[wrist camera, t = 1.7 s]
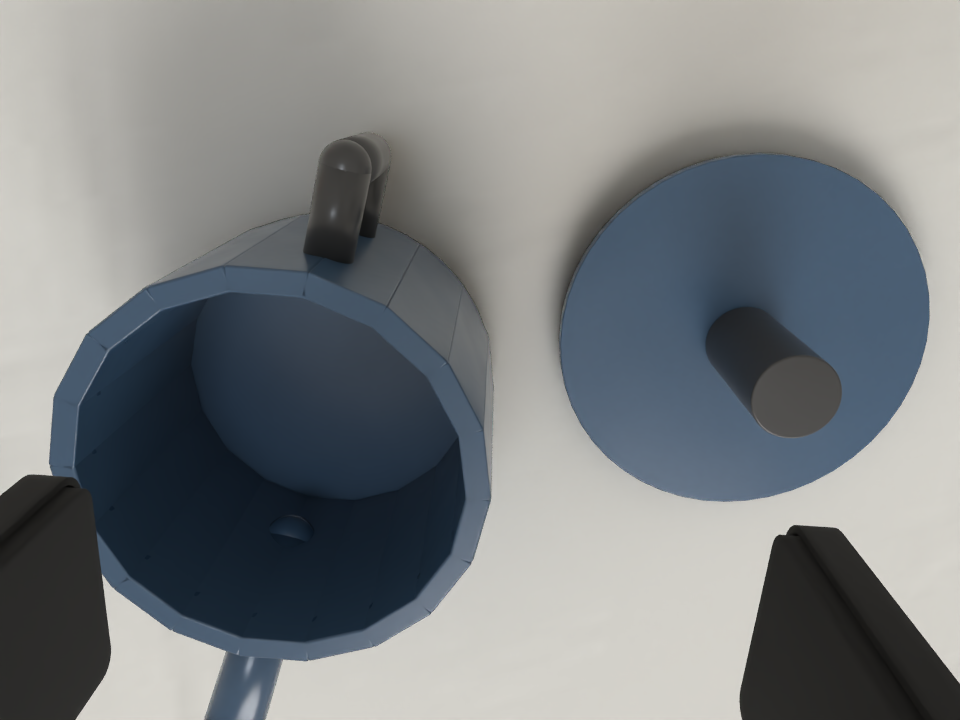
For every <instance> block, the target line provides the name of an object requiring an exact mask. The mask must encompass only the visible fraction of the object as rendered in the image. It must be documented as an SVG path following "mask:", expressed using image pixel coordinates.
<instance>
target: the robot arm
mask: <svg viewBox="0 0 960 720" xmlns="http://www.w3.org/2000/svg"><path fill="white" fill-rule="evenodd" d="M110 656H111V645H110V637H109V629H108V621H107V613H106V605H105V597H104V589H103V581H102V573H101V565H100V557H99V549H98V541H97V533H96V525H95V517H94V508H93V500H92V496H91V494H90V492H89V491H88V490H87V489H82V488H81V487H80V484H79V483H78V481H77V480H76V479H75V478H73V477H62V476H47V475H27V476H25V477H23V478H22V479H20V480H19V481H18V482H17V483H15V484H14V485H13V486H12V487H10V488H9V489H8V490H7V491H6V492H4V493H3V494H2V495H1V496H0V720H75V719H76V718H77V716H78V715H79V713H80V712H81V711H82V709H83V708H84V706H85V705H86V703H87V702H88V700H89V699H90V697H91V696H92V694H93V693H94V691H95V690H96V688H97V687H98V685H99V684H100V682H101V681H102V679H103V678H104V676H105V674H106V672H107V669H108V666H109V662H110ZM740 711H741V717H742V720H960V684H959V682H958V681H957V680H956V678H955V677H954V676H953V675H952V673H951V672H950V671H949V669H948V668H947V667H946V666H945V664H944V663H943V662H942V660H941V659H940V658H939V657H938V655H937V654H936V653H935V651H934V650H933V649H932V648H931V646H930V645H929V644H928V642H927V641H926V640H925V639H924V637H923V636H922V635H921V633H920V632H919V631H918V630H917V628H916V627H915V626H914V624H913V623H912V622H911V620H910V619H909V618H908V617H907V615H906V614H905V613H904V611H903V610H902V609H901V608H900V606H899V605H898V604H897V602H896V601H895V600H894V599H893V597H892V596H891V595H890V593H889V592H888V591H887V590H886V588H885V587H884V586H883V584H882V583H881V582H880V581H879V579H878V578H877V577H876V575H875V574H874V573H873V572H872V570H871V569H870V568H869V566H868V565H867V564H866V563H865V561H864V560H863V559H862V557H861V556H860V555H859V554H858V552H857V551H856V550H855V548H854V547H853V546H852V545H851V543H850V542H849V541H848V539H847V538H846V537H845V536H844V534H843V533H842V532H841V531H840V530H839V529H837V528H830V527H815V526H800V525H793V526H792V527H790V529H789V530H788V532H787V534H786V535H778V536H776V538H775V540H774V542H773V545H772V549H771V554H770V559H769V563H768V568H767V572H766V577H765V581H764V586H763V590H762V595H761V599H760V604H759V608H758V613H757V617H756V622H755V626H754V631H753V635H752V640H751V645H750V649H749V654H748V658H747V663H746V667H745V672H744V676H743V681H742V685H741V690H740Z"/></svg>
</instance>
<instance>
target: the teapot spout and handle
mask: <svg viewBox="0 0 960 720" xmlns="http://www.w3.org/2000/svg"><path fill="white" fill-rule="evenodd" d="M390 163H391V150H390V147H389V145H388V143H387V142H386V140H385V139H384V138H383V137H381V136H380V135H378V134H376V133H372V132H364V133H360V134H357V135H353V136H350V137H347V138H344V139H340V140H337V141H334V142H332V143H330V144H329V145H328V146H327V147H326V148H325V149H324V150H323V152H322V153H321V155H320V159H319V164H318V169H317V175H316V180H315V186H314V192H313V197H312V203H311V209H310V214H309V220H308V225H307V231H306V237H305V242H304V248H303V252H304V253H306V254H308V255H312V256H318V257H322V258H323V259H324V258H327V259H330V260H333V261H336V262H340V263H345V264H351V263H353V262H354V258H355V253H356V248H357V243H358V238H359V235H360V236H363V237H367V238H375V235H376V230H377V225H378V221H379V216H380V211H381V206H382V202H383V197H384V192H385V187H386V182H387V178H388V173H389V168H390ZM269 530H270V534H271V536H272V537H273V539H274V540H275V541H276V542H277V543H278V544H279V545H280V546H282V547H284V548H289V547H294V546H297V545H300V544H303V543H305V542H307V541H308V540H309V539H311V538H312V536H313V535H314V528H313V526H312V525H311V523H310V522H309V521H307V520H306V519H305V518H303V517H301V516H298V515H284V516H281V517H279V518H277V519H275V520H274V521H273V522H272V523H271V524H270V527H269ZM282 661H283V659H272V658H259V657H246V656H239V654H238V655H236V654H233V653H230V652H228V651H226V653H225V656H224V659H223V663H222V666H221V669H220V672H219V675H218V678H217V681H216V684H215V687H214V690H213V694H212V697H211V700H210V703H209V706H208V709H207V712H206V715H205V719H204V720H266V716H267V713H268V709H269V706H270V702H271V699H272V695H273V692H274V689H275V685H276V682H277V678H278V675H279V671H280V668H281V664H282Z"/></svg>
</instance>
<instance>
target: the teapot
mask: <svg viewBox="0 0 960 720" xmlns="http://www.w3.org/2000/svg"><path fill="white" fill-rule="evenodd" d="M308 220H309V214H305V215H299V216H296V217H291V218H287V219H282V220H278V221H276V222H273V223H270V224H267V225H264V226H261V227H257V228H254V229H250V230H249V231H246V232H245V233H243V234H241V235H239V236H237V237H236V238H234V239H232V240H230V241H228V242H226V243H225V244H223V245H221V246H219V247H217V248H216V249H214V250H212V251H210V252H208V253H207V254H205V255H203V256H201V257H199V258H198V259H196V260H194V261H192V262H190V263H188V264H187V265H185V266H183V267H181V268H179V269H178V270H176V271H174V272H172V273H170V274H169V275H167V276H165V277H163V278H161V279H159V280H158V281H156V282H154V283H152V284H150V285H149V286H147V287H145V288H143V289H142V290H141V291H140V292H138V293H137V294H136V295H135V296H133V297H132V298H131V299H129V300H128V301H127V302H126V303H124V304H123V305H122V306H121V307H119V308H118V309H117V310H115V311H114V312H113V313H112V314H110V315H109V316H108V317H107V318H105V319H104V320H103V321H101V322H100V323H99V324H98V325H96V326H95V327H94V328H93V329H91V330H90V331H89V333H87V334H86V336H85V337H84V339H83V341H82V343H81V345H80V347H79V349H78V351H77V353H76V354H75V356H74V358H73V360H72V362H71V364H70V366H69V368H68V370H67V372H66V373H65V375H64V377H63V379H62V381H61V383H60V385H59V387H58V389H57V390H56V392H55V395H54V399H53V414H52V428H51V443H50V457H49V464H50V468H51V471H52V475H53V476H62V477H73V478H75V479H76V480H77V481H78V483H79V484H80V487H81V488H82V489H87V490H88V491H89V492H90V494H91V496H92V500H93V508H94V517H95V525H96V533H97V541H98V549H99V557H100V565H101V573H102V574H103V576H104V577H105V578H106V580H107V581H108V582H109V584H110V585H111V586H112V587H113V588H114V589H115V590H116V591H117V592H119V593H120V594H122V595H123V596H124V597H126V598H127V599H128V600H130V601H131V602H132V603H134V604H135V605H137V606H138V607H139V608H141V609H142V610H143V611H145V612H146V613H148V614H149V615H150V616H152V617H153V618H154V619H156V620H157V621H158V622H160V623H161V624H163V625H164V626H165V627H167V628H168V629H169V630H172V629H173V631H174V632H176V633H179V634H182V635H184V636H187V637H190V638H193V639H195V640H198V641H201V642H203V643H206V644H209V645H211V646H214V647H217V648H220V649H222V650H225V651H228V652H230V653H233V654H236V655H238V654H239V656H246V657H259V658H272V659H285V660H297V661H308V660H315V659H320V658H324V657H329V656H334V655H338V654H343V653H348V652H352V651H357V650H362V649H366V648H371V647H373V646H378V645H379V644H381V643H383V642H384V641H386V640H388V639H389V638H391V637H393V636H394V635H396V634H398V633H400V632H401V631H403V630H405V629H406V628H408V627H410V626H411V625H413V624H415V623H416V622H418V621H420V620H422V619H423V618H425V617H427V616H428V615H430V614H431V612H433V611H434V610H435V608H436V607H437V606H438V605H439V603H440V602H441V601H442V600H443V598H444V597H445V596H446V595H447V593H448V592H449V591H450V590H451V588H452V587H453V586H454V585H455V583H456V582H457V581H458V580H459V578H460V577H461V576H462V575H463V574H464V572H465V571H466V570H467V569H468V567H469V566H470V565H471V562H472V561H473V559H474V556H475V552H476V549H477V546H478V542H479V539H480V535H481V532H482V529H483V525H484V522H485V519H486V515H487V512H488V508H489V505H490V502H491V483H492V437H493V392H494V386H493V376H492V366H491V353H490V346H489V336H488V333H487V331H486V329H485V327H484V325H483V322H482V319H481V317H480V314H479V312H478V310H477V308H476V306H475V304H474V302H473V300H472V298H471V297H470V295H469V293H468V292H467V290H466V289H465V287H464V286H463V284H462V283H461V282H460V281H459V279H458V278H457V277H456V275H455V274H454V273H453V272H452V271H451V270H450V269H449V268H448V267H447V266H446V265H445V264H444V262H443V261H441V260H440V259H439V258H438V257H437V256H435V255H434V254H433V253H432V252H431V251H429V250H428V249H427V248H426V247H424V246H423V245H421V244H420V243H418V242H417V241H415V240H413V239H412V238H410V237H409V236H407V235H405V234H403V233H401V232H399V231H397V230H394V229H392V228H390V227H388V226H385V225H382V224H379V223H378V225H377V230H376V235H375V238H367V237H363V236H360V235H359V238H358V243H357V248H356V253H355V258H354V262H353V263H351V264H345V263H340V262H336V261H333V260H330V259H327V258H324V259H323V258H322V257H318V256H312V255H308V254H306V253H304V252H303V248H304V242H305V237H306V231H307V225H308ZM284 515H298V516H301V517H303V518H305V519H306V520H307V521H309V522H310V523H311V525H312V526H313V528H314V535H313V536H312V538H311V539H309V540H308V541H307V542H305V543H303V544H300V545H297V546H294V547H289V548H284V547H282V546H280V545H279V544H278V543H277V542H276V541H275V540H274V539H273V537H272V536H271V534H270V530H269V527H270V524H271V523H272V522H273V521H274V520H275V519H277V518H279V517H281V516H284Z"/></svg>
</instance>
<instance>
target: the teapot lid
mask: <svg viewBox="0 0 960 720" xmlns="http://www.w3.org/2000/svg"><path fill="white" fill-rule="evenodd" d="M928 326H929V292H928V286H927V280H926V274H925V270H924V267H923V264H922V261H921V258H920V255H919V252H918V249H917V247H916V245H915V243H914V241H913V239H912V237H911V235H910V233H909V231H908V230H907V228H906V227H905V225H904V224H903V223H902V221H901V220H900V218H899V217H898V216H897V214H896V213H895V211H894V210H893V209H892V208H891V207H890V206H889V205H888V204H887V203H886V202H885V201H884V200H883V199H882V198H881V197H880V196H879V195H878V194H877V193H875V192H874V191H873V190H871V189H870V188H868V187H867V186H866V185H864V184H863V183H862V182H860V181H859V180H857V179H856V178H854V177H852V176H850V175H848V174H846V173H844V172H842V171H840V170H838V169H837V168H834V167H831V166H828V165H825V164H822V163H819V162H817V161H814V160H810V159H805V158H800V157H795V156H790V155H785V154H769V153H750V154H737V155H729V156H725V157H720V158H715V159H710V160H706V161H703V162H700V163H698V164H695V165H692V166H689V167H686V168H683V169H681V170H679V171H677V172H675V173H673V174H671V175H669V176H667V177H665V178H663V179H661V180H659V181H657V182H656V183H654V184H653V185H651V186H650V187H648V188H646V189H645V190H643V191H642V192H640V193H639V194H637V195H636V196H635V197H634V198H633V199H631V200H630V201H629V202H628V203H627V204H626V205H624V206H623V207H622V208H621V209H620V210H619V211H617V212H616V214H615V215H614V216H613V217H612V218H611V219H610V220H609V221H608V222H607V223H606V224H605V226H604V227H603V228H602V229H601V230H600V231H599V233H598V234H597V236H596V237H595V238H594V240H593V241H592V243H591V244H590V245H589V247H588V248H587V250H586V251H585V253H584V255H583V257H582V259H581V261H580V263H579V264H578V266H577V268H576V270H575V272H574V275H573V277H572V280H571V283H570V285H569V288H568V291H567V293H566V297H565V302H564V306H563V310H562V315H561V323H560V333H559V349H560V363H561V369H562V374H563V379H564V384H565V388H566V391H567V394H568V396H569V399H570V402H571V405H572V407H573V409H574V411H575V413H576V415H577V417H578V419H579V421H580V423H581V425H582V427H583V428H584V429H585V431H586V432H587V434H588V435H589V437H590V438H591V439H592V441H593V442H594V443H595V444H596V445H597V446H598V448H599V449H600V450H601V451H602V452H603V453H604V454H605V455H606V456H607V457H608V458H609V459H610V460H612V461H613V462H614V463H615V464H616V465H618V466H619V467H620V468H621V469H623V470H624V471H625V472H627V473H629V474H630V475H632V476H634V477H635V478H637V479H638V480H640V481H642V482H644V483H646V484H648V485H651V486H653V487H655V488H657V489H660V490H662V491H665V492H669V493H672V494H675V495H678V496H682V497H687V498H693V499H698V500H706V501H723V502H727V501H746V500H753V499H759V498H765V497H770V496H774V495H777V494H781V493H784V492H788V491H791V490H794V489H796V488H799V487H801V486H804V485H806V484H809V483H811V482H813V481H815V480H817V479H819V478H821V477H823V476H825V475H826V474H828V473H830V472H832V471H834V470H835V469H837V468H838V467H840V466H841V465H843V464H844V463H845V462H847V461H848V460H850V459H851V458H853V457H854V456H855V455H856V454H857V453H858V452H860V451H861V450H862V449H863V448H864V447H865V446H867V445H868V444H869V443H870V442H871V441H872V440H873V439H874V438H875V437H876V436H877V435H878V433H879V432H880V431H881V430H882V429H883V428H884V427H885V426H886V425H887V423H888V422H889V421H890V419H891V418H892V417H893V415H894V414H895V412H896V411H897V410H898V408H899V407H900V406H901V404H902V402H903V400H904V398H905V397H906V395H907V393H908V391H909V390H910V388H911V386H912V384H913V381H914V379H915V376H916V374H917V372H918V369H919V367H920V364H921V361H922V357H923V353H924V349H925V345H926V342H927V334H928Z"/></svg>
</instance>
